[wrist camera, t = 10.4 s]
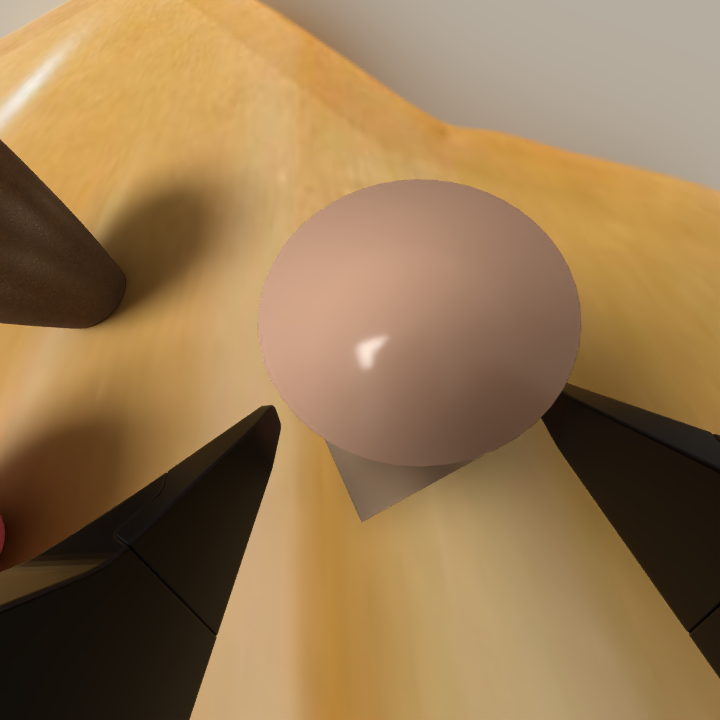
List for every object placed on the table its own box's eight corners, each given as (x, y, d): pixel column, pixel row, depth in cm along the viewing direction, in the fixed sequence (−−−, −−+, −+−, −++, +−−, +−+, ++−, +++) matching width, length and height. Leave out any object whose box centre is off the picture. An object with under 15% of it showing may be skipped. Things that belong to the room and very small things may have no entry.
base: (366, 508, 18) (361, 522, 15) (308, 381, 21) (295, 372, 18) (494, 438, 18) (513, 438, 15) (418, 323, 21) (422, 305, 18)
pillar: (413, 459, 15) (507, 548, 3) (344, 419, 16) (200, 364, 4) (447, 388, 16) (622, 229, 4) (379, 355, 17) (348, 152, 5)
